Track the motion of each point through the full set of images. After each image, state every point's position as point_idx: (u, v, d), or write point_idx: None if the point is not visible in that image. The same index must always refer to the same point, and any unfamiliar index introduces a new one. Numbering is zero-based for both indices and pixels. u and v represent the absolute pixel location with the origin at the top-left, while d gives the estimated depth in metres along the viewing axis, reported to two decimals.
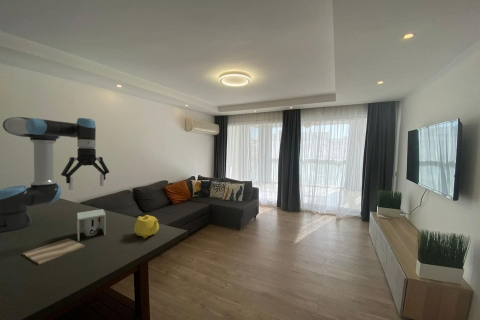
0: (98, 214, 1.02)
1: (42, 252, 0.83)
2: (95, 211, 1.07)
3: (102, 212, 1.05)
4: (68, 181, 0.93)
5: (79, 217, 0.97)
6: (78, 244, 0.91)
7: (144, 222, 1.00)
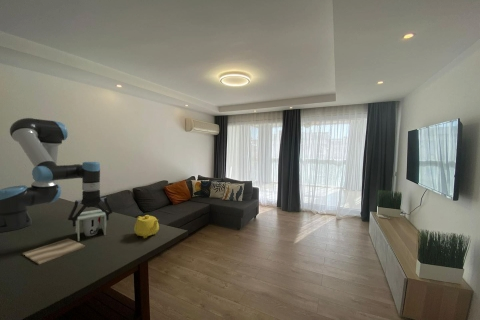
0: (98, 214, 1.02)
1: (42, 252, 0.83)
2: (95, 211, 1.07)
3: (102, 212, 1.05)
4: (74, 224, 0.98)
5: (79, 217, 0.97)
6: (78, 244, 0.91)
7: (144, 222, 1.00)
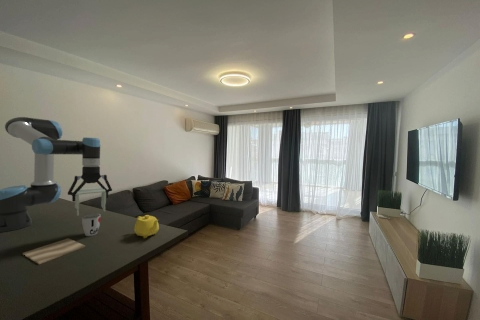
0: (98, 190, 1.02)
1: (42, 252, 0.83)
2: (94, 188, 1.06)
3: (102, 189, 1.05)
4: (73, 199, 0.97)
5: (79, 192, 0.96)
6: (78, 244, 0.91)
7: (144, 222, 1.00)
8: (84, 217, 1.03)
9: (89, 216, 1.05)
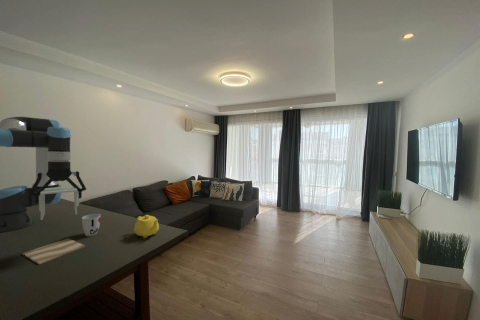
0: (68, 189, 0.86)
1: (42, 252, 0.83)
2: (65, 187, 0.90)
3: (73, 188, 0.89)
4: (36, 201, 0.81)
5: (43, 191, 0.80)
6: (78, 244, 0.91)
7: (144, 222, 1.00)
8: (84, 217, 1.03)
9: (89, 216, 1.05)
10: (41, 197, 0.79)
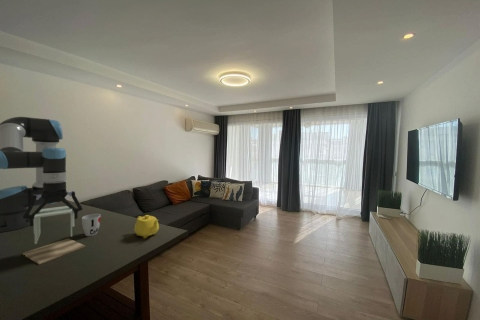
0: (63, 211, 0.84)
1: (42, 252, 0.83)
2: (61, 208, 0.89)
3: (69, 209, 0.87)
4: (31, 224, 0.80)
5: (37, 214, 0.79)
6: (78, 244, 0.91)
7: (144, 222, 1.00)
8: (84, 217, 1.03)
9: (89, 216, 1.05)
10: (35, 221, 0.77)
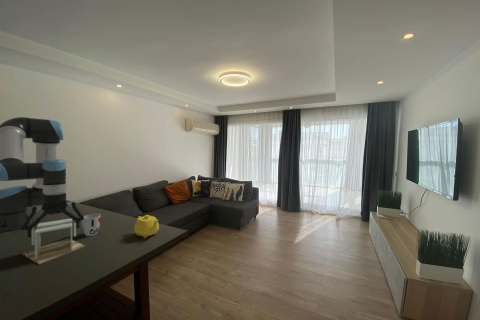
0: (63, 225, 0.84)
1: (42, 252, 0.83)
2: (61, 221, 0.89)
3: (69, 222, 0.88)
4: (29, 235, 0.80)
5: (37, 230, 0.79)
6: (78, 244, 0.91)
7: (144, 222, 1.00)
8: (84, 217, 1.03)
9: (89, 216, 1.05)
10: (35, 236, 0.77)
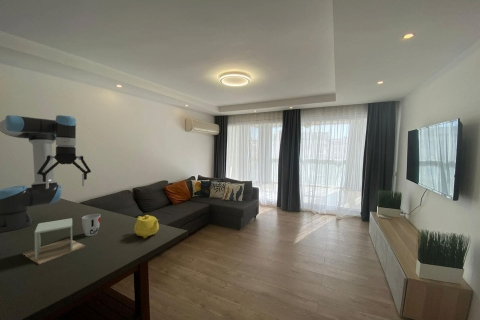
0: (63, 225, 0.84)
1: (42, 252, 0.83)
2: (61, 221, 0.89)
3: (69, 222, 0.88)
4: (44, 179, 0.92)
5: (37, 230, 0.79)
6: (78, 244, 0.91)
7: (144, 222, 1.00)
8: (84, 217, 1.03)
9: (89, 216, 1.05)
10: (35, 236, 0.77)
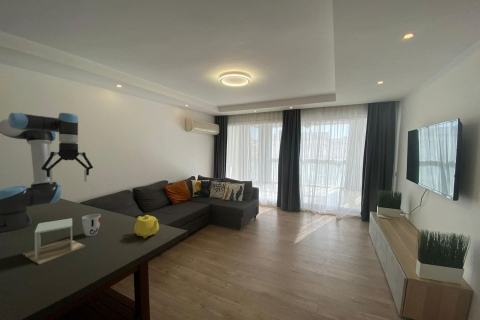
0: (63, 225, 0.84)
1: (42, 252, 0.83)
2: (61, 221, 0.89)
3: (69, 222, 0.88)
4: (47, 175, 0.95)
5: (37, 230, 0.79)
6: (78, 244, 0.91)
7: (144, 222, 1.00)
8: (84, 217, 1.03)
9: (89, 216, 1.05)
10: (35, 236, 0.77)
